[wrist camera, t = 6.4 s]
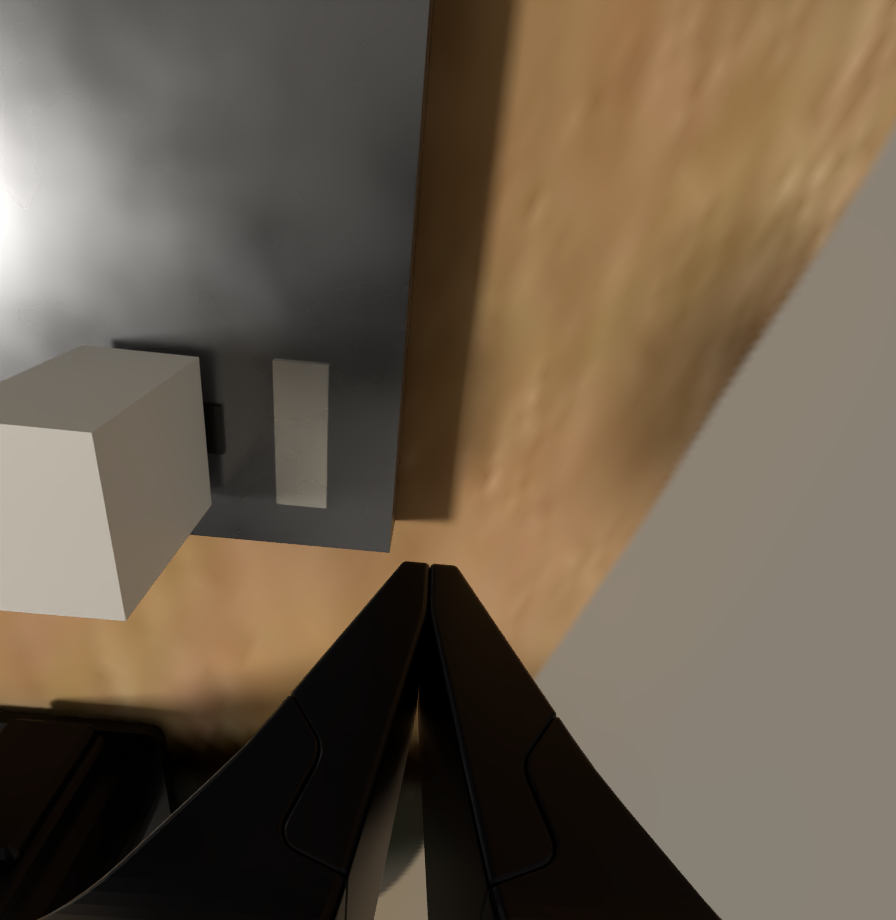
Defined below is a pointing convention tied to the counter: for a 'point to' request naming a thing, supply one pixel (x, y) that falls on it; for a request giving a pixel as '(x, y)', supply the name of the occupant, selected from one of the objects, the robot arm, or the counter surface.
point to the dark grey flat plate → (228, 230)
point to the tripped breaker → (98, 478)
